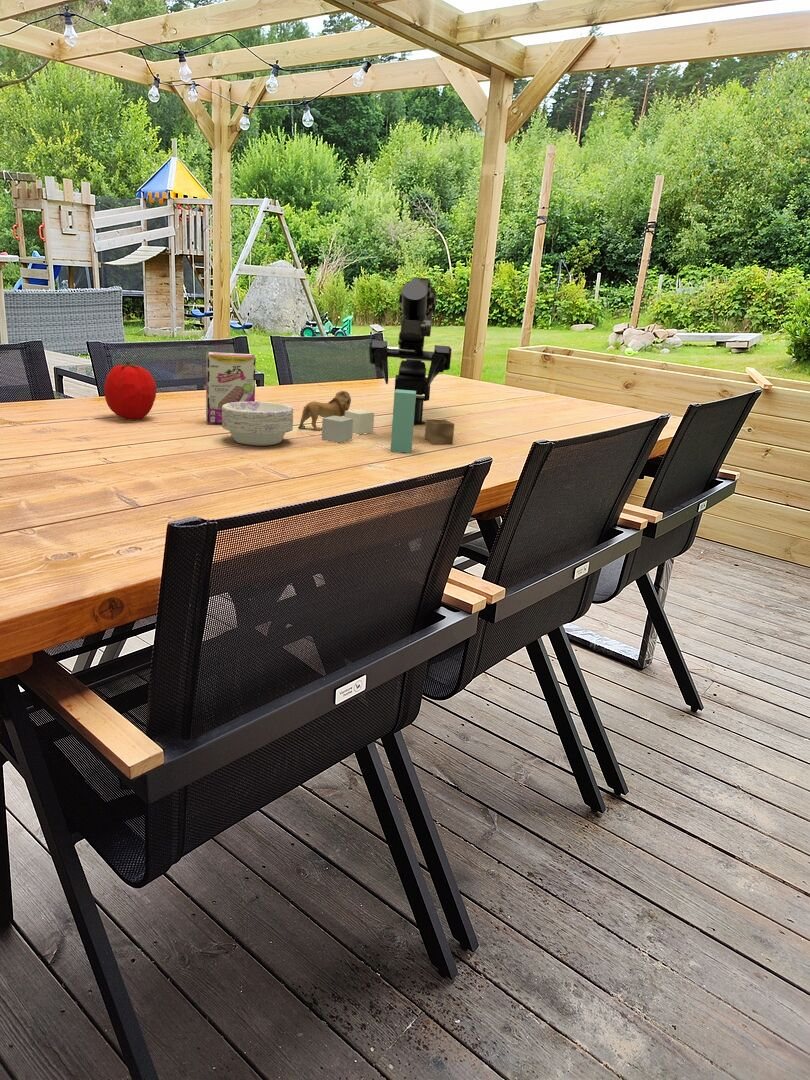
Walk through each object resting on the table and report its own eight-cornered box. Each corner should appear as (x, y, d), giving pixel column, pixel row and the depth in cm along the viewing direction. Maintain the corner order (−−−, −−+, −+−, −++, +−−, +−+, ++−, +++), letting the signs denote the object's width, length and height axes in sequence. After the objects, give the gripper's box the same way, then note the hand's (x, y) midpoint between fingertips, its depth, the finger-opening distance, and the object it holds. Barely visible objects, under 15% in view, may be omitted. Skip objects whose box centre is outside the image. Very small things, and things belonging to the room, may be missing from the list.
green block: (391, 447, 172) (395, 389, 168) (411, 449, 172) (416, 390, 168) (390, 451, 168) (394, 392, 164) (410, 453, 168) (415, 393, 164)
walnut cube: (443, 440, 185) (445, 419, 183) (452, 444, 180) (454, 423, 179) (424, 440, 183) (426, 419, 181) (433, 445, 178) (434, 423, 177)
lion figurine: (341, 424, 193) (343, 388, 190) (354, 428, 189) (356, 392, 187) (292, 428, 184) (293, 391, 181) (304, 433, 180) (305, 394, 177)
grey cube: (333, 436, 179) (334, 415, 177) (351, 440, 177) (352, 418, 175) (321, 440, 175) (322, 418, 173) (340, 443, 173) (341, 421, 171)
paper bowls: (250, 431, 178) (250, 397, 175) (305, 441, 172) (306, 406, 169) (207, 441, 165) (206, 404, 162) (265, 453, 159) (265, 415, 156)
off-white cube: (358, 429, 190) (359, 409, 188) (373, 433, 186) (374, 412, 185) (343, 431, 186) (344, 410, 184) (358, 435, 183) (359, 414, 181)
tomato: (102, 423, 174) (98, 364, 170) (108, 413, 185) (105, 357, 181) (156, 424, 177) (153, 366, 173) (159, 414, 188) (157, 359, 184)
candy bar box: (207, 425, 181) (206, 354, 175) (206, 421, 185) (205, 351, 180) (255, 425, 184) (256, 355, 179) (252, 421, 189) (253, 353, 183)
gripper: (372, 303, 173) (364, 358, 166) (455, 309, 172) (450, 365, 166) (373, 336, 183) (366, 389, 176) (451, 342, 183) (447, 396, 176)
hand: (407, 384), depth 173 cm, fingers open, 9 cm apart
